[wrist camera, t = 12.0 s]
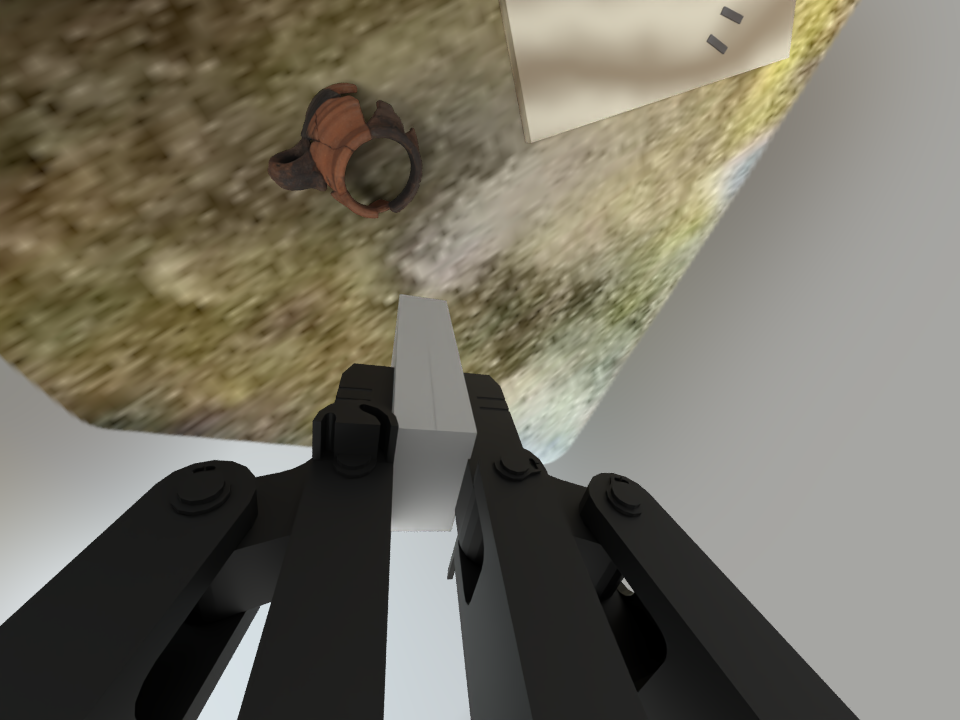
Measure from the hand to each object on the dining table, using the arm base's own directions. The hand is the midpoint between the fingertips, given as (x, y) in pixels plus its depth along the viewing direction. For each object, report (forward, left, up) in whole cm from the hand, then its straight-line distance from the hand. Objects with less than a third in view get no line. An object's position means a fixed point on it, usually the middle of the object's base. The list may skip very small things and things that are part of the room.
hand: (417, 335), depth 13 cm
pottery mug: (-5, -4, -29) cm, 29 cm away
